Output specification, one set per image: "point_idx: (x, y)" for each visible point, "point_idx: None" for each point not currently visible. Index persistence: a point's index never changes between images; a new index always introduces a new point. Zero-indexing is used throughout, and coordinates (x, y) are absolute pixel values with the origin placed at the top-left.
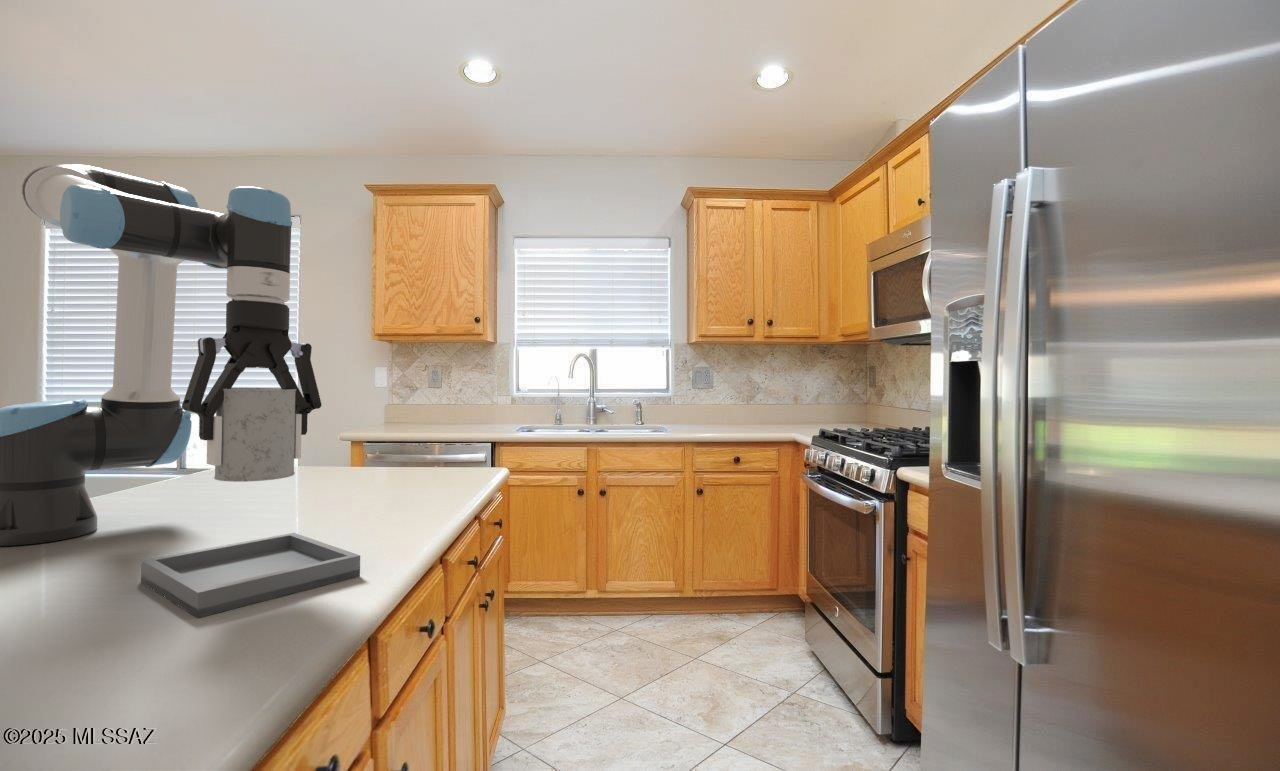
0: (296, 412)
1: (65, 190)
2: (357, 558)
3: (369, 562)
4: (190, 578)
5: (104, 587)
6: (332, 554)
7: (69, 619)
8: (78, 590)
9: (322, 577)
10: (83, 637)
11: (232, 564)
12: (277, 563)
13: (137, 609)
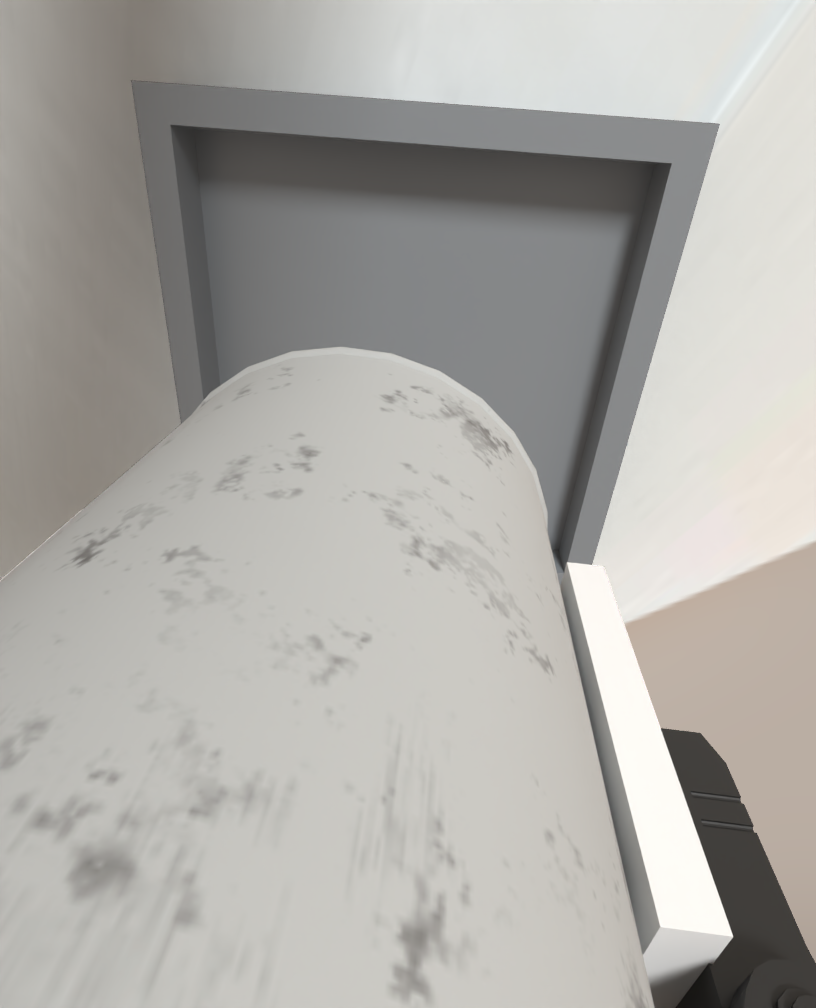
0: (694, 1005)
1: None
2: None
3: (684, 487)
4: (262, 283)
5: (75, 47)
6: (581, 493)
7: (15, 313)
8: (8, 6)
9: None
10: (47, 452)
11: (404, 228)
12: (493, 346)
13: (138, 368)
